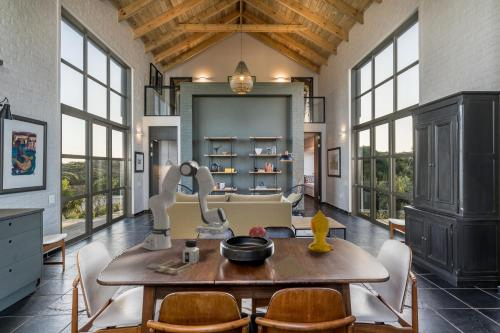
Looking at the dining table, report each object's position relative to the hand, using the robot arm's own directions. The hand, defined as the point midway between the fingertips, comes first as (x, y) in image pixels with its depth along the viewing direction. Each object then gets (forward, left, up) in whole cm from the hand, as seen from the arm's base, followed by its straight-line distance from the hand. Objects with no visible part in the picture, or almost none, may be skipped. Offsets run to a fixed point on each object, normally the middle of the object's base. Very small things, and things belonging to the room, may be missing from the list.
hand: (202, 232), depth 189 cm
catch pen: (0, -27, -16) cm, 31 cm away
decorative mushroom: (+22, +41, -16) cm, 49 cm away
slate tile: (-13, -30, -16) cm, 37 cm away
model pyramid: (+60, -1, -17) cm, 62 cm away
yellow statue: (+67, +54, -16) cm, 87 cm away
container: (0, -12, -16) cm, 20 cm away
